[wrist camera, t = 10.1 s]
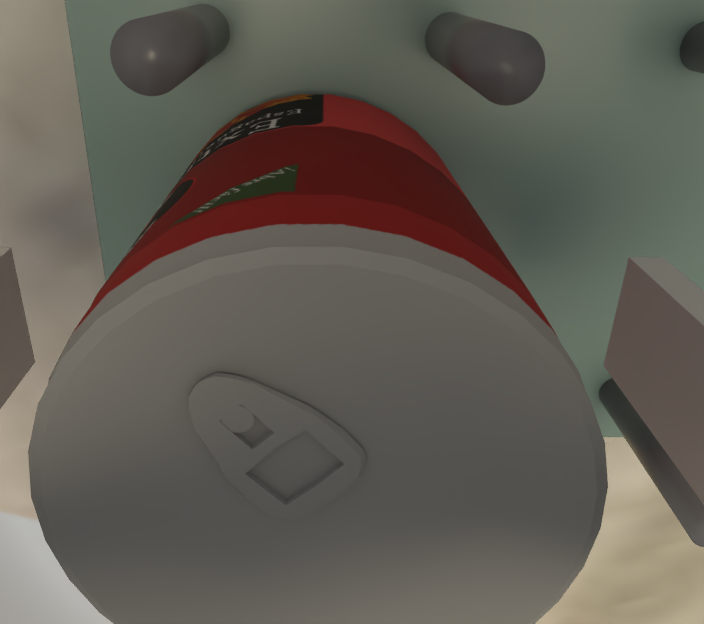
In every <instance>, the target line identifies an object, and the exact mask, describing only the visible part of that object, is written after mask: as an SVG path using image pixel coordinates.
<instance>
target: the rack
mask: <svg viewBox="0 0 704 624" xmlns="http://www.w3.org/2000/svg"><path fill="white" fill-rule="evenodd" d="M65 5H66V12H67V19H68V26H69V33H70V40H71V46H72V53H73V60H74V67H75V74H76V81H77V88H78V94H79V101H80V108H81V115H82V122H83V129H84V136H85V143H86V149H87V156H88V163H89V170H90V177H91V184H92V191H93V198H94V204H95V211H96V218H97V225H98V232H99V239H100V246H101V252H102V259H103V266H104V273H105V280H106V281H107V280H108V278H109V277H110V276H111V274H112V273H113V271H114V270H115V269H116V267H117V266H118V264H119V263H120V262H121V260H122V259H123V257H124V256H125V255H126V253H127V252H128V250H129V249H130V248H131V246H132V245H133V244H134V242H135V241H136V239H137V238H138V237H139V235H140V234H141V232H142V231H143V230H144V228H145V227H146V225H147V224H148V223H149V221H150V220H151V218H152V217H153V216H154V214H155V213H156V211H157V210H158V209H159V207H160V206H161V204H162V203H163V202H164V200H165V199H166V197H167V196H168V195H169V193H170V192H171V190H172V189H173V188H174V186H175V185H176V183H177V182H178V181H179V179H180V178H181V176H182V175H183V174H184V172H185V171H186V169H187V168H188V167H189V165H190V164H191V162H192V161H193V160H194V158H195V157H196V156H197V154H198V153H199V151H200V150H201V149H202V148H203V147H204V146H205V145H206V143H207V142H208V141H209V140H210V139H211V138H212V136H213V135H214V134H215V133H216V132H217V131H218V130H219V129H220V128H222V127H223V126H224V125H226V124H227V123H228V122H230V121H231V120H233V119H234V118H235V117H237V116H238V115H239V114H241V113H242V112H245V111H247V110H249V109H251V108H254V107H256V106H258V105H260V104H263V103H265V102H267V101H270V100H274V99H279V98H284V97H289V96H294V95H299V94H331V95H336V96H341V97H345V98H350V99H355V100H360V101H363V102H365V103H368V104H370V105H372V106H375V107H377V108H379V109H382V110H384V111H386V112H389V113H391V114H392V115H394V116H395V117H397V118H398V119H399V120H401V121H402V122H404V123H405V124H407V125H408V126H410V127H411V128H412V129H414V130H415V131H417V132H418V134H419V135H420V136H421V137H422V138H423V139H424V140H425V141H426V142H427V143H428V144H429V145H430V146H431V147H432V148H433V149H434V150H435V151H436V152H437V153H438V155H439V156H440V158H441V159H442V161H443V162H444V164H445V165H446V167H447V168H448V170H449V171H450V173H451V174H452V176H453V177H454V179H455V180H456V182H457V183H458V185H459V186H460V188H461V189H462V191H463V192H464V194H465V195H466V197H467V198H468V200H469V201H470V203H471V204H472V206H473V207H474V209H475V210H476V212H477V213H478V215H479V216H480V218H481V219H482V221H483V222H484V224H485V225H486V227H487V228H488V230H489V231H490V233H491V234H492V236H493V237H494V239H495V240H496V242H497V243H498V245H499V246H500V248H501V249H502V251H503V252H504V254H505V255H506V257H507V258H508V260H509V261H510V263H511V264H512V266H513V267H514V269H515V270H516V272H517V273H518V275H519V276H520V278H521V279H522V281H523V282H524V284H525V285H526V287H527V288H528V290H529V291H530V293H531V295H532V296H533V298H534V299H535V301H536V302H537V304H538V306H539V307H540V309H541V310H542V312H543V314H544V315H545V317H546V318H547V320H548V321H549V323H550V325H551V326H552V328H553V329H554V331H555V333H556V335H557V337H558V339H559V341H560V342H561V344H562V346H563V347H564V349H565V350H566V352H567V354H568V355H569V357H570V358H571V360H572V361H573V363H574V365H575V366H576V368H577V369H578V371H579V373H580V376H581V379H582V382H583V385H584V388H585V391H586V393H587V394H588V396H589V397H590V400H591V403H592V406H593V409H594V412H595V415H596V418H597V421H598V424H599V427H600V430H601V433H602V436H603V437H624V438H625V439H626V441H627V442H628V444H629V445H630V447H631V448H632V450H633V451H634V453H635V454H636V456H637V457H638V459H639V460H640V462H641V464H642V465H643V467H644V468H645V470H646V471H647V473H648V474H649V476H650V477H651V479H652V480H653V482H654V483H655V485H656V486H657V488H658V489H659V491H660V493H661V494H662V496H663V497H664V499H665V500H666V502H667V503H668V505H669V506H670V508H671V509H672V511H673V512H674V514H675V515H676V517H677V518H678V520H679V521H680V523H681V525H682V526H683V528H684V529H685V531H686V532H687V534H688V535H689V537H690V538H691V540H692V541H693V542H694V543H695V544H696V545H698V546H701V547H704V504H703V503H702V502H701V500H700V499H699V497H698V496H697V495H696V493H695V492H694V490H693V489H692V488H691V486H690V485H689V484H688V482H687V481H686V479H685V478H684V477H683V475H682V474H681V472H680V471H679V470H678V468H677V467H676V466H675V464H674V463H673V461H672V460H671V459H670V457H669V456H668V454H667V453H666V452H665V450H664V449H663V448H662V446H661V445H660V443H659V442H658V441H657V439H656V438H655V436H654V435H653V434H652V432H651V431H650V430H649V428H648V427H647V425H646V424H645V423H644V421H643V420H642V418H641V417H640V416H639V414H638V413H637V412H636V410H635V409H634V407H633V406H632V405H631V403H630V402H629V401H628V399H627V398H626V396H625V395H624V394H623V392H622V391H621V389H620V388H619V387H618V385H617V384H616V383H615V381H614V380H613V378H612V377H611V376H610V374H609V373H608V371H607V370H606V369H605V367H604V366H603V365H604V361H605V356H606V352H607V348H608V343H609V339H610V335H611V331H612V326H613V322H614V318H615V314H616V309H617V305H618V301H619V296H620V292H621V288H622V284H623V279H624V275H625V271H626V267H627V262H628V258H629V257H661V258H664V259H665V260H667V261H668V262H669V263H670V264H671V265H673V266H674V267H675V268H676V269H678V270H679V271H680V272H681V273H682V274H684V275H685V276H686V277H687V278H688V279H690V280H691V281H692V282H693V283H695V284H696V285H697V286H698V287H699V288H701V289H702V290H703V291H704V0H65Z"/></svg>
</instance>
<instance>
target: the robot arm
mask: <svg viewBox="0 0 704 624" xmlns="http://www.w3.org/2000/svg"><path fill="white" fill-rule="evenodd" d="M34 363H35V360H34V355H33V351H32V346H31V341H30V336H29V332H28V327H27V322H26V317H25V312H24V308H23V303H22V298H21V293H20V289H19V284H18V279H17V274H16V270H15V265H14V260H13V255H12V251H11V248H0V408H1V407H2V406H3V404H4V403H5V402H6V400H7V399H8V398H9V396H10V395H11V394H12V392H13V391H14V390H15V388H16V387H17V386H18V384H19V383H20V381H21V380H22V379H23V377H24V376H25V375H26V373H27V372H28V371H29V369H30V368H31V367H32V365H33V364H34ZM603 366H604V367H605V369H606V370H607V371H608V373H609V374H610V376H611V377H612V378H613V380H614V381H615V383H616V384H617V385H618V387H619V388H620V389H621V391H622V392H623V394H624V395H625V396H626V398H627V399H628V401H629V402H630V403H631V405H632V406H633V407H634V409H635V410H636V412H637V413H638V414H639V416H640V417H641V418H642V420H643V421H644V423H645V424H646V425H647V427H648V428H649V430H650V431H651V432H652V434H653V435H654V436H655V438H656V439H657V441H658V442H659V443H660V445H661V446H662V448H663V449H664V450H665V452H666V453H667V454H668V456H669V457H670V459H671V460H672V461H673V463H674V464H675V466H676V467H677V468H678V470H679V471H680V472H681V474H682V475H683V477H684V478H685V479H686V481H687V482H688V484H689V485H690V486H691V488H692V489H693V490H694V492H695V493H696V495H697V496H698V497H699V499H700V500H701V502H702V503H703V504H704V291H703V290H702V289H701V288H699V287H698V286H697V285H696V284H695V283H693V282H692V281H691V280H690V279H688V278H687V277H686V276H685V275H684V274H682V273H681V272H680V271H679V270H678V269H676V268H675V267H674V266H673V265H671V264H670V263H669V262H668V261H667V260H665V259H664V258H661V257H629V258H628V262H627V267H626V271H625V275H624V279H623V284H622V288H621V292H620V296H619V301H618V305H617V309H616V314H615V318H614V322H613V326H612V331H611V335H610V339H609V343H608V348H607V352H606V356H605V361H604V365H603Z"/></svg>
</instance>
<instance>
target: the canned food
mask: <svg viewBox="0 0 704 624" xmlns="http://www.w3.org/2000/svg"><path fill="white" fill-rule="evenodd" d="M28 454H29V469H30V485H31V498H32V501H33V504H34V507H35V510H36V513H37V516H38V519H39V522H40V525H41V528H42V531H43V534H44V537H45V540H46V542H47V544H48V545H49V547H50V549H51V550H52V552H53V554H54V555H55V557H56V559H57V560H58V562H59V563H60V565H61V567H62V568H63V570H64V572H65V573H66V575H67V577H68V578H69V580H70V581H71V582H72V583H73V584H74V585H75V586H76V587H77V588H78V589H79V590H80V592H81V593H82V594H83V595H84V596H85V597H86V598H87V599H88V600H89V601H90V603H91V604H92V605H93V606H94V607H95V608H96V609H97V610H98V611H99V612H100V613H101V614H102V615H103V616H105V617H106V618H107V619H109V620H110V621H111V622H113V623H114V624H535V623H536V622H537V621H538V620H539V619H540V618H541V617H542V616H543V615H544V614H545V613H546V612H548V611H549V610H550V609H551V608H552V607H553V606H554V605H555V604H556V603H557V602H558V601H559V600H560V599H561V597H562V596H563V594H564V593H565V592H566V590H567V589H568V588H569V586H570V585H571V583H572V582H573V581H574V579H575V578H576V576H577V575H578V574H579V572H580V571H581V570H582V568H583V567H584V564H585V562H586V560H587V558H588V555H589V553H590V551H591V548H592V546H593V544H594V542H595V539H596V537H597V535H598V532H599V530H600V527H601V522H602V516H603V510H604V505H605V499H606V494H607V488H608V482H607V468H606V454H605V442H604V439H603V436H602V433H601V430H600V427H599V424H598V421H597V418H596V415H595V412H594V409H593V406H592V403H591V400H590V397H589V396H588V394H587V393H586V391H585V388H584V385H583V382H582V379H581V376H580V373H579V371H578V369H577V368H576V366H575V365H574V363H573V361H572V360H571V358H570V357H569V355H568V354H567V352H566V350H565V349H564V347H563V346H562V344H561V342H560V341H559V339H558V337H557V335H556V333H555V331H554V329H553V328H552V326H551V325H550V323H549V321H548V320H547V318H546V317H545V315H544V314H543V312H542V310H541V309H540V307H539V306H538V304H537V302H536V301H535V299H534V298H533V296H532V295H531V293H530V291H529V290H528V288H527V287H526V285H525V284H524V282H523V281H522V279H521V278H520V276H519V275H518V273H517V272H516V270H515V269H514V267H513V266H512V264H511V263H510V261H509V260H508V258H507V257H506V255H505V254H504V252H503V251H502V249H501V248H500V246H499V245H498V243H497V242H496V240H495V239H494V237H493V236H492V234H491V233H490V231H489V230H488V228H487V227H486V225H485V224H484V222H483V221H482V219H481V218H480V216H479V215H478V213H477V212H476V210H475V209H474V207H473V206H472V204H471V203H470V201H469V200H468V198H467V197H466V195H465V194H464V192H463V191H462V189H461V188H460V186H459V185H458V183H457V182H456V180H455V179H454V177H453V176H452V174H451V173H450V171H449V170H448V168H447V167H446V165H445V164H444V162H443V161H442V159H441V158H440V156H439V155H438V153H437V152H436V151H435V150H434V149H433V148H432V147H431V146H430V145H429V144H428V143H427V142H426V141H425V140H424V139H423V138H422V137H421V136H420V135H419V134H418V132H417V131H415V130H414V129H412V128H411V127H410V126H408V125H407V124H405V123H404V122H402V121H401V120H399V119H398V118H397V117H395V116H394V115H392V114H391V113H389V112H386V111H384V110H382V109H379V108H377V107H375V106H372V105H370V104H368V103H365V102H363V101H360V100H355V99H350V98H345V97H341V96H336V95H331V94H299V95H294V96H289V97H284V98H279V99H274V100H270V101H267V102H265V103H263V104H260V105H258V106H256V107H254V108H251V109H249V110H247V111H245V112H242V113H241V114H239V115H238V116H237V117H235V118H234V119H233V120H231V121H230V122H228V123H227V124H226V125H224V126H223V127H222V128H220V129H219V130H218V131H217V132H216V133H215V134H214V135H213V136H212V138H211V139H210V140H209V141H208V142H207V143H206V145H205V146H204V147H203V148H202V149H201V150H200V151H199V153H198V154H197V156H196V157H195V158H194V160H193V161H192V162H191V164H190V165H189V167H188V168H187V169H186V171H185V172H184V174H183V175H182V176H181V178H180V179H179V181H178V182H177V183H176V185H175V186H174V188H173V189H172V190H171V192H170V193H169V195H168V196H167V197H166V199H165V200H164V202H163V203H162V204H161V206H160V207H159V209H158V210H157V211H156V213H155V214H154V216H153V217H152V218H151V220H150V221H149V223H148V224H147V225H146V227H145V228H144V230H143V231H142V232H141V234H140V235H139V237H138V238H137V239H136V241H135V242H134V244H133V245H132V246H131V248H130V249H129V250H128V252H127V253H126V255H125V256H124V257H123V259H122V260H121V262H120V263H119V264H118V266H117V267H116V269H115V270H114V271H113V273H112V274H111V276H110V277H109V278H108V280H107V281H106V283H105V284H104V285H103V287H102V288H101V290H100V291H99V292H98V294H97V295H96V297H95V299H94V301H93V303H92V305H91V307H90V308H89V310H88V311H87V313H86V314H85V316H84V317H83V318H82V320H81V321H80V323H79V324H78V326H77V327H76V328H75V330H74V331H73V333H72V334H71V336H70V338H69V340H68V342H67V344H66V346H65V348H64V350H63V352H62V354H61V356H60V358H59V360H58V362H57V364H56V366H55V368H54V370H53V372H52V374H51V376H50V378H49V382H48V386H47V388H46V390H45V392H44V394H43V396H42V398H41V400H40V402H39V404H38V407H37V412H36V417H35V421H34V426H33V431H32V436H31V441H30V446H29V451H28Z"/></svg>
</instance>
